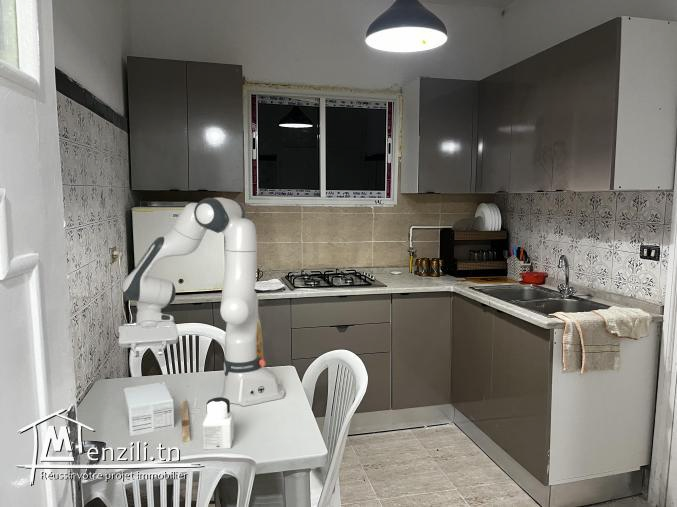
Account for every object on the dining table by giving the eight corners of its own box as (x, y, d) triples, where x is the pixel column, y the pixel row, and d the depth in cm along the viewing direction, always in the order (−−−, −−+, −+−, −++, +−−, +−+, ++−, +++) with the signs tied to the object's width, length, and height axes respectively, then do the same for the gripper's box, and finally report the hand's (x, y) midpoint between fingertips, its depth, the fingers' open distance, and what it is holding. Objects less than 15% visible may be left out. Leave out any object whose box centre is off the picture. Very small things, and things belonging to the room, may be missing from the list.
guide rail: (187, 406, 171) (187, 400, 171) (190, 440, 147) (189, 433, 147) (180, 407, 171) (180, 401, 170) (182, 441, 146) (182, 435, 146)
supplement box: (124, 415, 164) (123, 387, 163) (166, 407, 170) (165, 381, 169) (129, 436, 150) (127, 406, 149) (174, 427, 156) (173, 398, 155)
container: (207, 437, 149) (206, 395, 148) (234, 436, 150) (233, 394, 148) (203, 450, 141) (201, 406, 140) (230, 449, 142) (229, 405, 141)
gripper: (117, 319, 180) (116, 353, 172) (177, 315, 187) (178, 348, 179) (119, 328, 185) (117, 362, 177) (177, 324, 192) (178, 357, 183)
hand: (148, 355), depth 178 cm, fingers open, 7 cm apart
